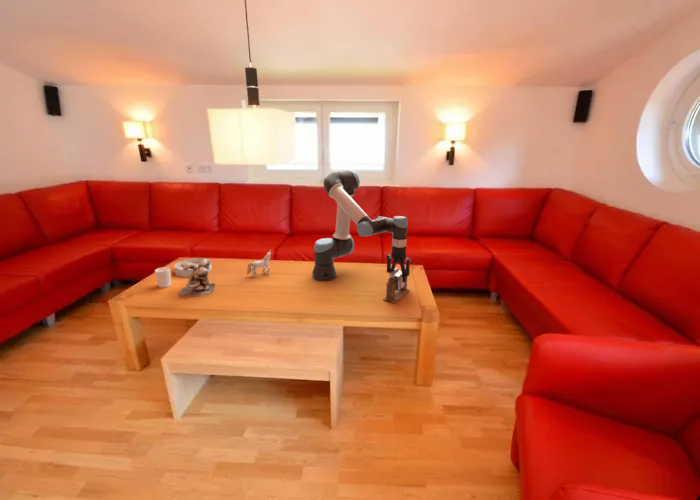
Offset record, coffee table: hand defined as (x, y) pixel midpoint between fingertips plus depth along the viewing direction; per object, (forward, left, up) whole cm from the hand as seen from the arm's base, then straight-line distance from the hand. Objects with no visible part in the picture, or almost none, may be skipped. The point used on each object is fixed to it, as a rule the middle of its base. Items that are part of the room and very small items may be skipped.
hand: (397, 286), depth 197 cm
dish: (-127, -37, -6) cm, 133 cm away
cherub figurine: (-99, -54, -6) cm, 113 cm away
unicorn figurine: (-87, -17, -6) cm, 89 cm away
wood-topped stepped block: (0, 0, 0) cm, 0 cm away
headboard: (0, 0, -6) cm, 6 cm away
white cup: (-120, -61, -6) cm, 135 cm away
